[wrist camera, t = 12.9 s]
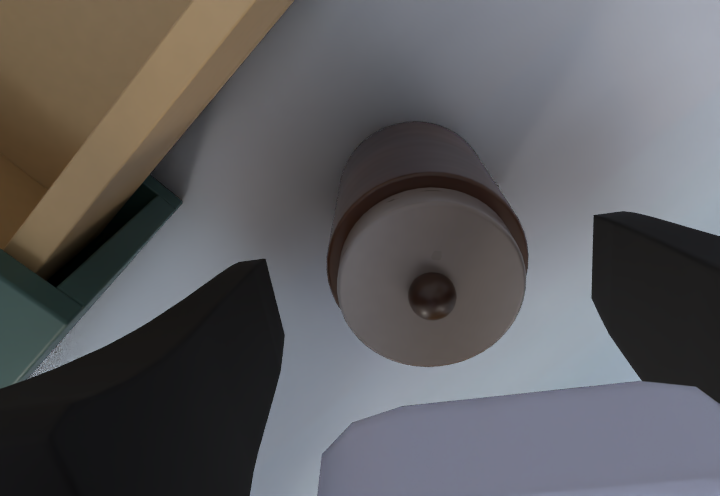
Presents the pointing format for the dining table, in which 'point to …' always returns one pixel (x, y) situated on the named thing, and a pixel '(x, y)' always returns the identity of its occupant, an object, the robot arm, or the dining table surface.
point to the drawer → (103, 106)
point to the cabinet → (72, 283)
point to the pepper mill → (424, 248)
